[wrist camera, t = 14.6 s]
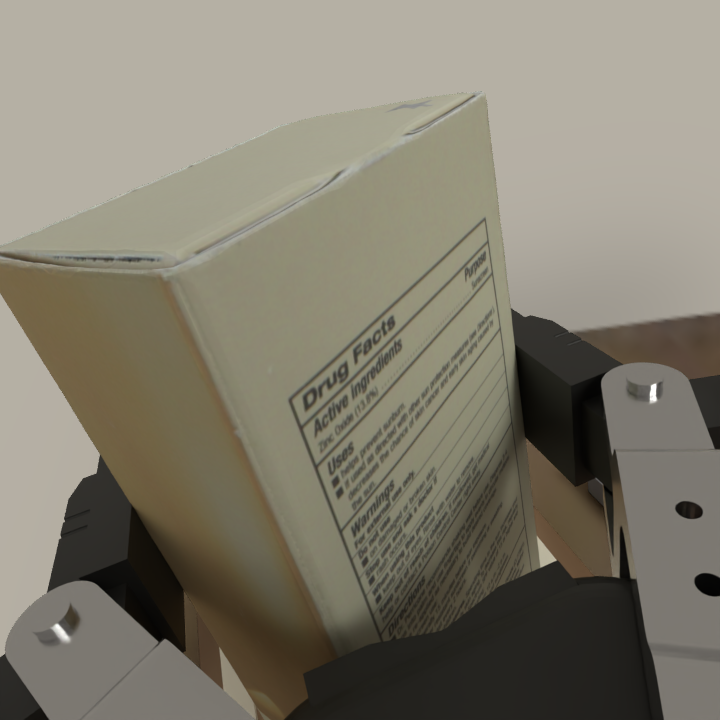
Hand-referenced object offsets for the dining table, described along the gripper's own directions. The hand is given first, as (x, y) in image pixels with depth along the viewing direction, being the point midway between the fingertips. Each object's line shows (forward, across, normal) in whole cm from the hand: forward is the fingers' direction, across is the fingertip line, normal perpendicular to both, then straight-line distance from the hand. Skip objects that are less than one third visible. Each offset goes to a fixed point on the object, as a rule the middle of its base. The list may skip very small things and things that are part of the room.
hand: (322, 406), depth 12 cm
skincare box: (-2, 0, +7) cm, 7 cm away
